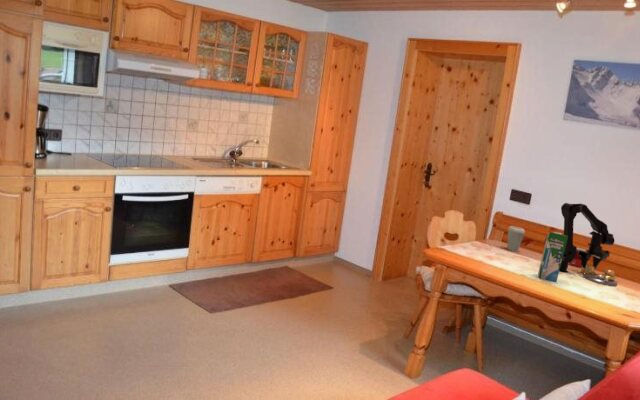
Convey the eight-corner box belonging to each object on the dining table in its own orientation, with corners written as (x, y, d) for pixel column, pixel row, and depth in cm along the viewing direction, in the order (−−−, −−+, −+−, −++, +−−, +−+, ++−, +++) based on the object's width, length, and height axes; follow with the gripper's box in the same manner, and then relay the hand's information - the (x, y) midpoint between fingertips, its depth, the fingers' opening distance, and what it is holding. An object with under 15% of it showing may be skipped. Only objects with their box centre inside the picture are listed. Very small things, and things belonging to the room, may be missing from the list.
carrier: (603, 285, 310) (606, 274, 309) (575, 275, 326) (578, 264, 325) (625, 286, 319) (628, 275, 319) (597, 276, 335) (600, 265, 334)
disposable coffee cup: (522, 253, 363) (528, 230, 361) (506, 250, 363) (511, 227, 361) (517, 249, 374) (522, 227, 371) (501, 246, 373) (506, 224, 371)
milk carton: (555, 278, 306) (566, 233, 302) (556, 282, 297) (568, 235, 294) (537, 274, 309) (548, 229, 305) (538, 277, 300) (549, 231, 297)
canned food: (583, 268, 351) (587, 251, 349) (569, 265, 352) (574, 248, 350) (580, 265, 358) (584, 249, 356) (567, 262, 359) (571, 246, 358)
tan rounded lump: (589, 275, 332) (591, 267, 331) (578, 271, 338) (580, 263, 338) (597, 275, 335) (599, 267, 335) (586, 271, 342) (588, 263, 341)
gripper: (597, 246, 323) (590, 272, 325) (618, 248, 332) (611, 273, 334) (580, 240, 332) (574, 266, 335) (601, 242, 341) (594, 267, 343)
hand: (588, 268), depth 336 cm, fingers open, 9 cm apart
